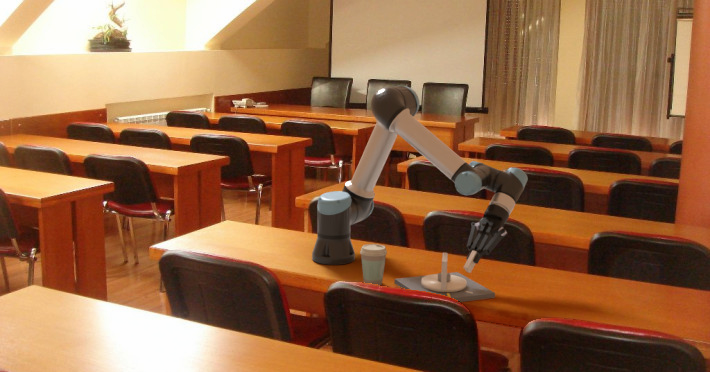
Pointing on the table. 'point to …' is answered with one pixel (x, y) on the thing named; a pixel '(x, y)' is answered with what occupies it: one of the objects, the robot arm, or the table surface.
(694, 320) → the table surface
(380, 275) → the coffee cup
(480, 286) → the dial plate
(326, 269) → the table surface
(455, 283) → the dial
